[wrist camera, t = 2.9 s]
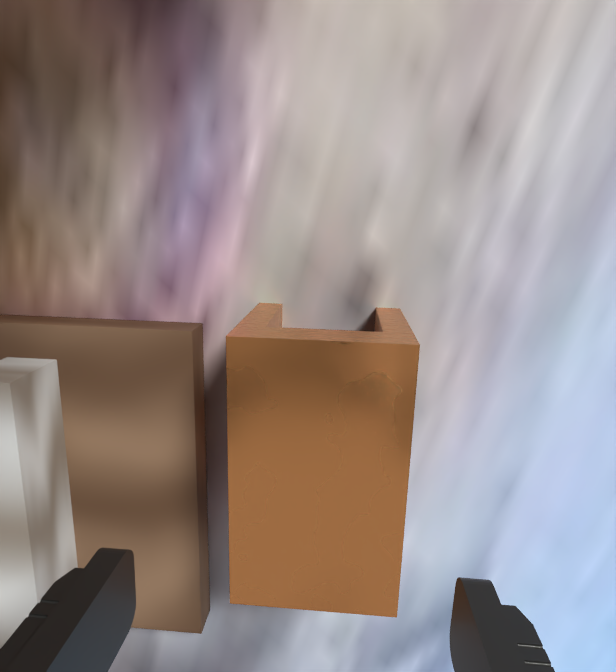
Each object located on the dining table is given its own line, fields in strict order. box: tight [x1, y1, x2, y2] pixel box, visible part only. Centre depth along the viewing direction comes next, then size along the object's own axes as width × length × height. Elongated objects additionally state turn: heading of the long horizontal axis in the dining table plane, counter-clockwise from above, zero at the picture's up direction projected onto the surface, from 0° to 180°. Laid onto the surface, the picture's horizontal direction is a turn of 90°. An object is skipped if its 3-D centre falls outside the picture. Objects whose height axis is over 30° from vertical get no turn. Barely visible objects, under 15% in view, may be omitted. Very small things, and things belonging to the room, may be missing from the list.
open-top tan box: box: [226, 303, 420, 617], centre depth 19 cm, size 10×6×6 cm, turn 178°
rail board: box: [0, 315, 210, 647], centre depth 22 cm, size 15×14×4 cm
